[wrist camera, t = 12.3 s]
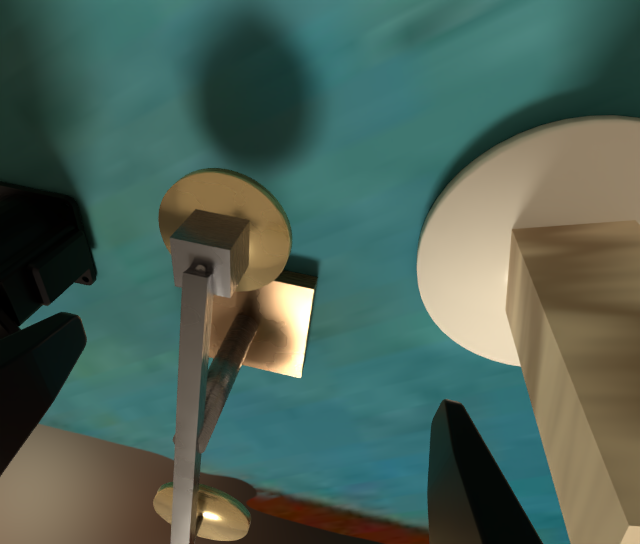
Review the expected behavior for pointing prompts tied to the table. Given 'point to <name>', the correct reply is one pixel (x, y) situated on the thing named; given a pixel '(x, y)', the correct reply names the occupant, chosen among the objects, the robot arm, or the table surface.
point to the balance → (225, 326)
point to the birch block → (583, 367)
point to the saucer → (520, 218)
